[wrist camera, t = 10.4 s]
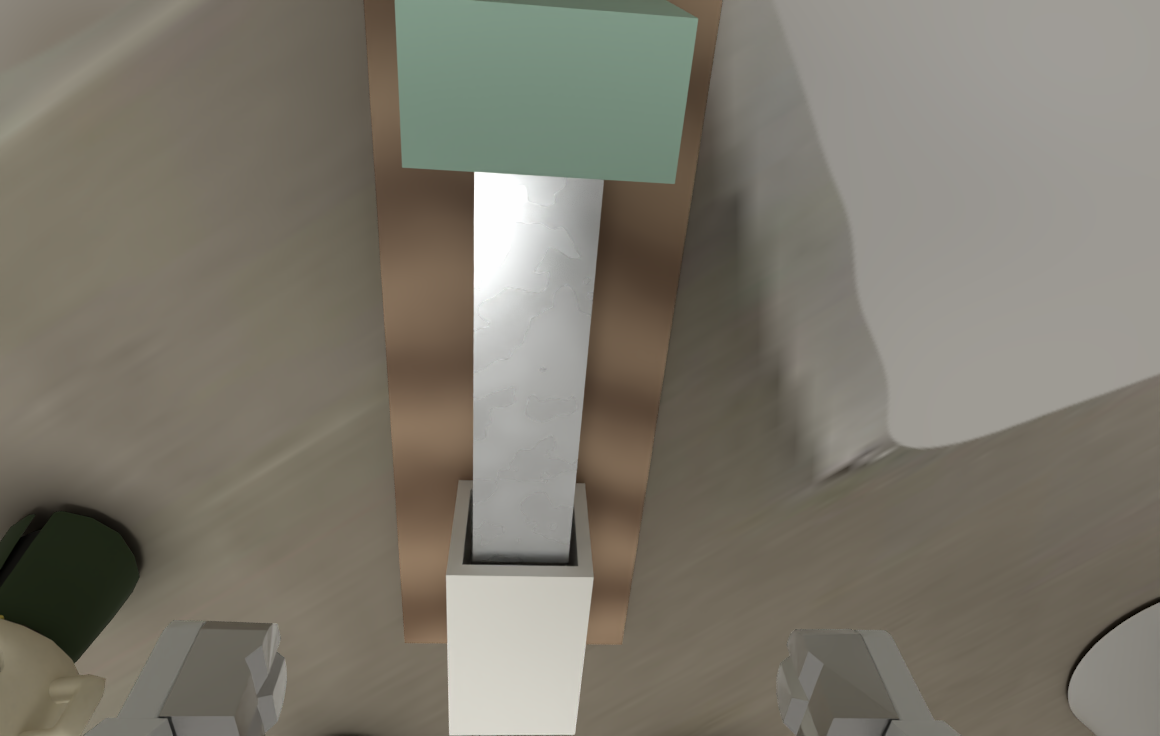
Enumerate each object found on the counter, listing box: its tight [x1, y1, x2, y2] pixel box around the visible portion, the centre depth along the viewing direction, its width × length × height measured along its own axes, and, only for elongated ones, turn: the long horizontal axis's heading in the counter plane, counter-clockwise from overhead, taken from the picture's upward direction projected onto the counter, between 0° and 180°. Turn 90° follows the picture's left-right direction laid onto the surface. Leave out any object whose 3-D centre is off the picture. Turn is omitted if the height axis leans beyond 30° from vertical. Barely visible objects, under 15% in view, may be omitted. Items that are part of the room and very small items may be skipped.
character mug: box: [0, 511, 139, 736], centre depth 32 cm, size 11×7×13 cm, turn 96°
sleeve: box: [446, 480, 594, 735], centre depth 36 cm, size 11×6×6 cm, turn 176°
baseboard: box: [364, 0, 723, 644], centre depth 33 cm, size 34×12×1 cm, turn 176°
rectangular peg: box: [473, 172, 604, 563], centre depth 28 cm, size 20×4×4 cm, turn 176°
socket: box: [395, 0, 698, 184], centre depth 23 cm, size 4×8×6 cm, turn 86°
